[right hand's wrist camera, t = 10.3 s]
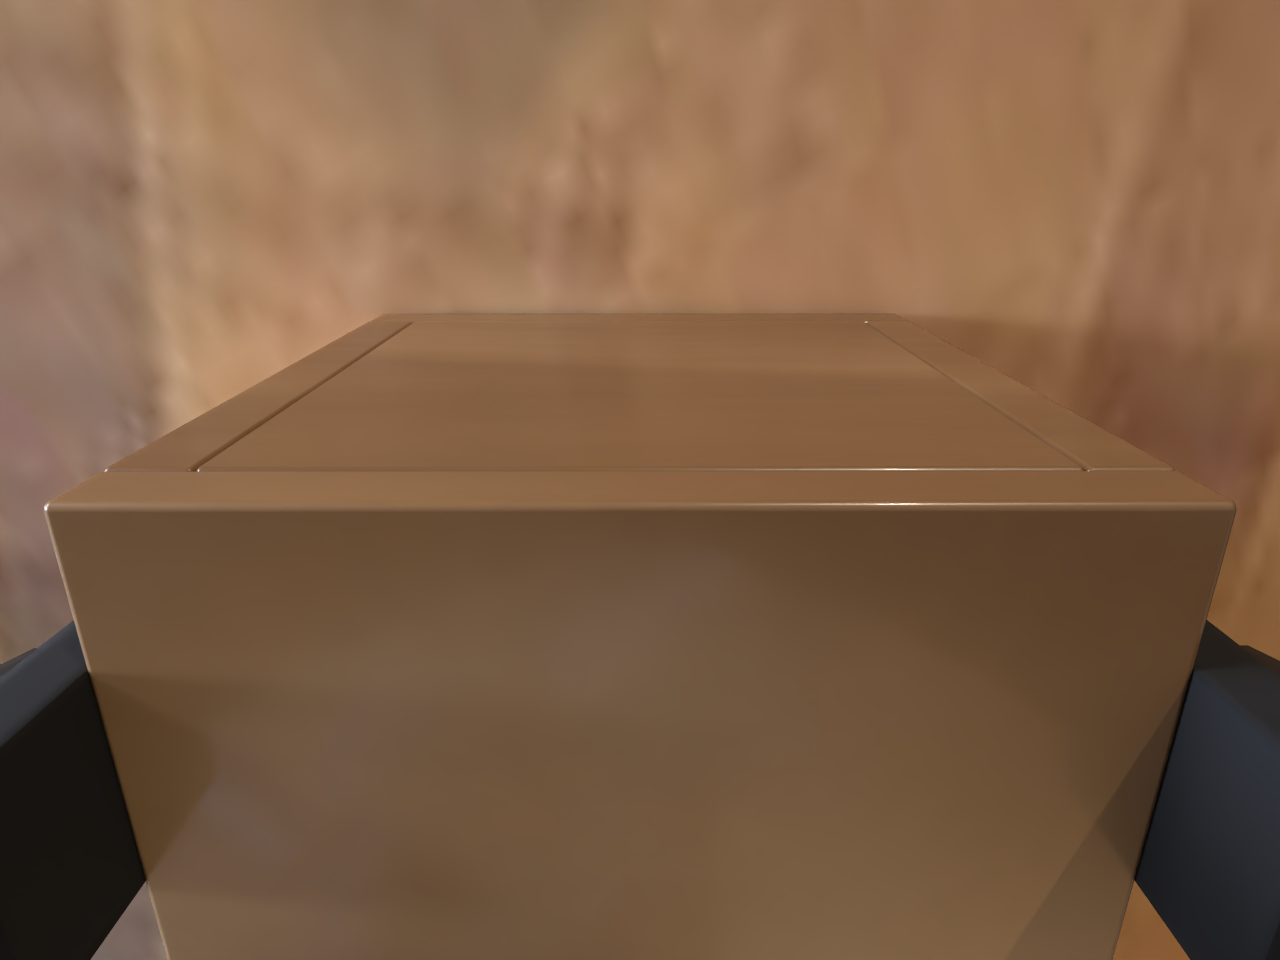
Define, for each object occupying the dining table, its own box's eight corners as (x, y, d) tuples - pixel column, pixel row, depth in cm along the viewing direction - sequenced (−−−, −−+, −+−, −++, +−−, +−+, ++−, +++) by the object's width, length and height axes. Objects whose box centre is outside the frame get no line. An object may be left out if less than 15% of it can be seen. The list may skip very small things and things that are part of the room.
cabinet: (822, 1003, 24) (946, 1567, 15) (457, 1003, 24) (333, 1568, 15) (897, 312, 17) (1243, 502, 7) (381, 313, 17) (37, 503, 7)
